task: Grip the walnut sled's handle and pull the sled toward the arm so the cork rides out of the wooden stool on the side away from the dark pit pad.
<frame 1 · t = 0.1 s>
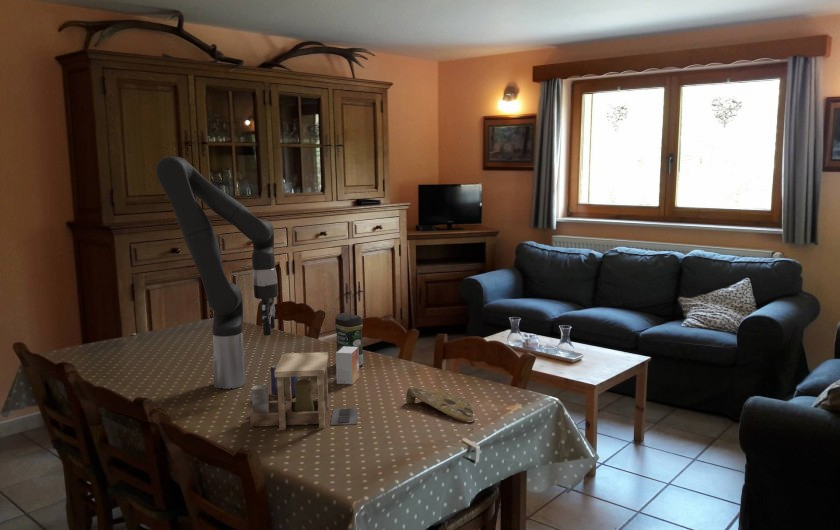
hand: (269, 331, 215), 17 cm above the table, tool pointing down, fingers open, 8 cm apart
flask: (285, 395, 206), on the table
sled: (288, 401, 186), point 5 cm above the table, slide at 0.0 cm
small box: (348, 381, 219), on the table
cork: (305, 419, 187), on the table
coffee jar: (349, 365, 236), on the table
wooden stool: (305, 418, 187), on the table
decorative stone: (452, 409, 194), on the table
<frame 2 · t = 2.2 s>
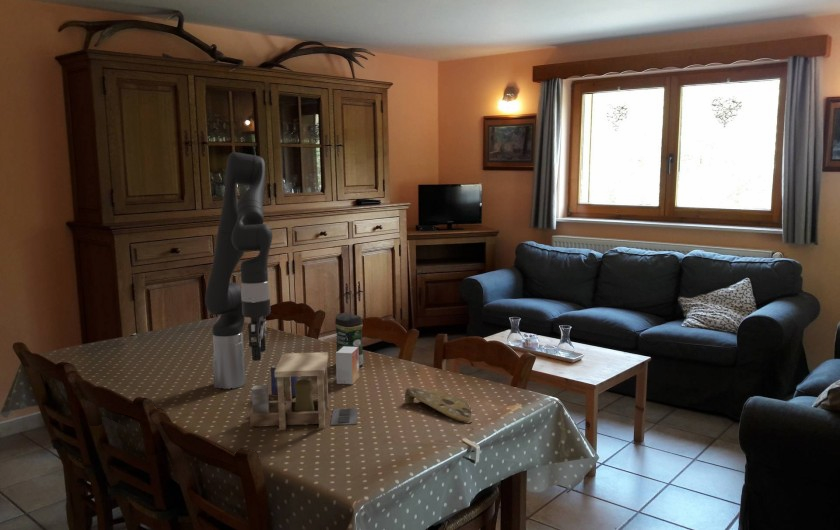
hand: (259, 355, 184), 18 cm above the table, tool pointing down, fingers open, 8 cm apart
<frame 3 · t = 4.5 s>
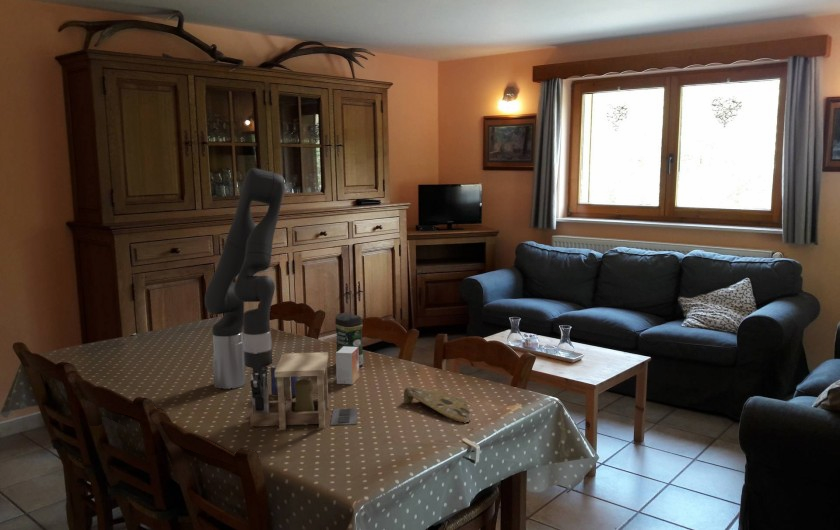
hand: (260, 407, 186), 4 cm above the table, tool pointing down, fingers closed on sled, 3 cm apart
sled: (288, 401, 186), point 5 cm above the table, slide at 0.0 cm, touching gripper
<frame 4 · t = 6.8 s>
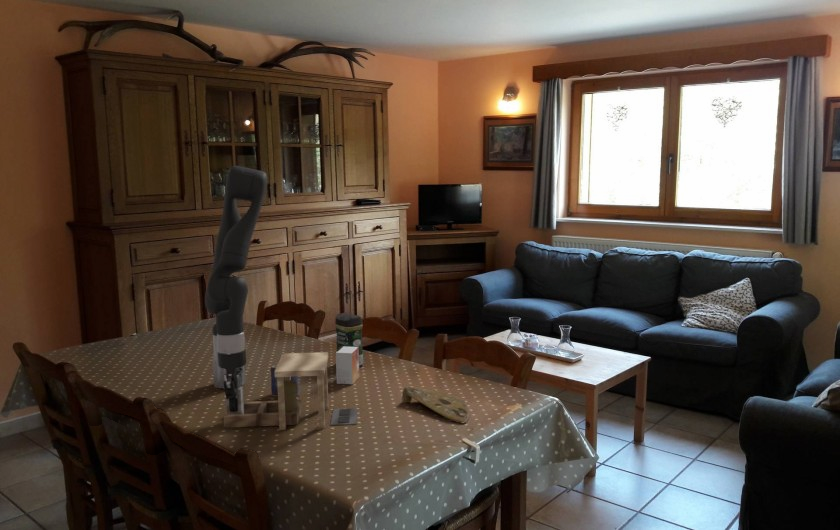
hand: (235, 408, 185), 4 cm above the table, tool pointing down, fingers closed on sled, 3 cm apart
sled: (263, 402, 186), point 5 cm above the table, slide at 7.0 cm, touching gripper, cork
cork: (289, 420, 186), on the table, touching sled
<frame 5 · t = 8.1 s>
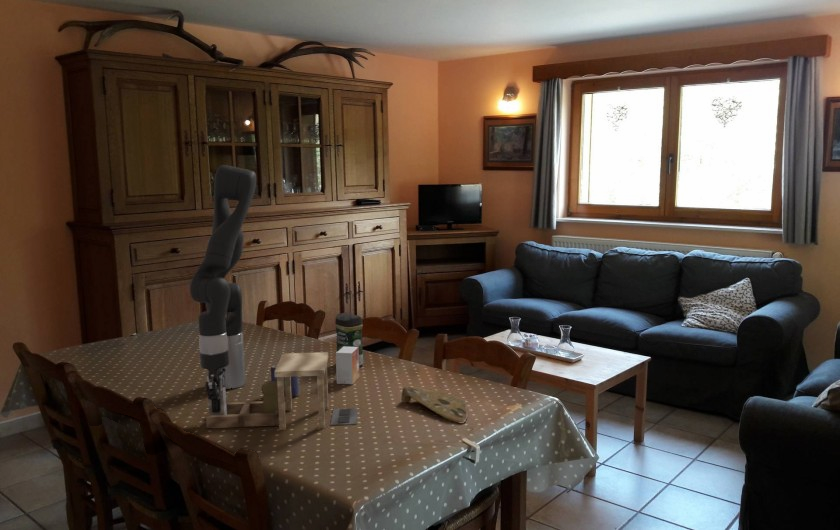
hand: (218, 409, 185), 4 cm above the table, tool pointing down, fingers closed on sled, 3 cm apart
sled: (246, 403, 185), point 5 cm above the table, slide at 11.7 cm, touching gripper, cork
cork: (272, 420, 186), on the table, touching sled
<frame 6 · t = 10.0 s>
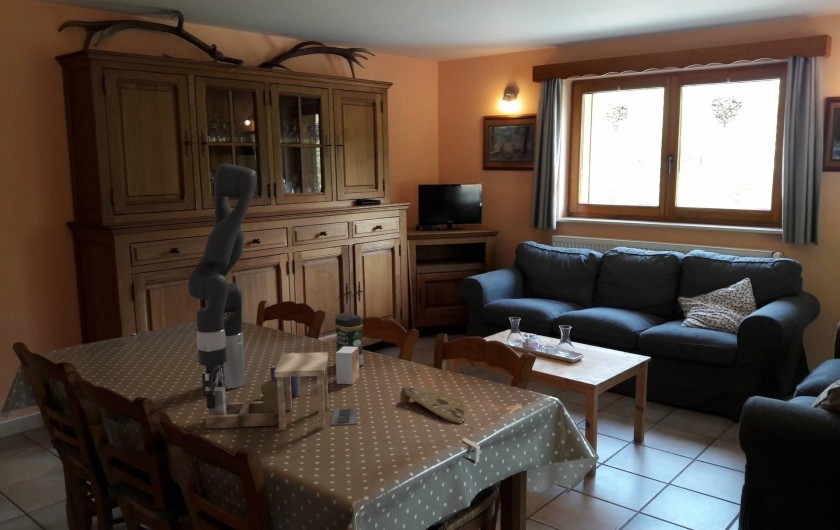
hand: (215, 402, 185), 6 cm above the table, tool pointing down, fingers open, 8 cm apart
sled: (245, 403, 185), point 5 cm above the table, slide at 11.9 cm
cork: (272, 420, 186), on the table
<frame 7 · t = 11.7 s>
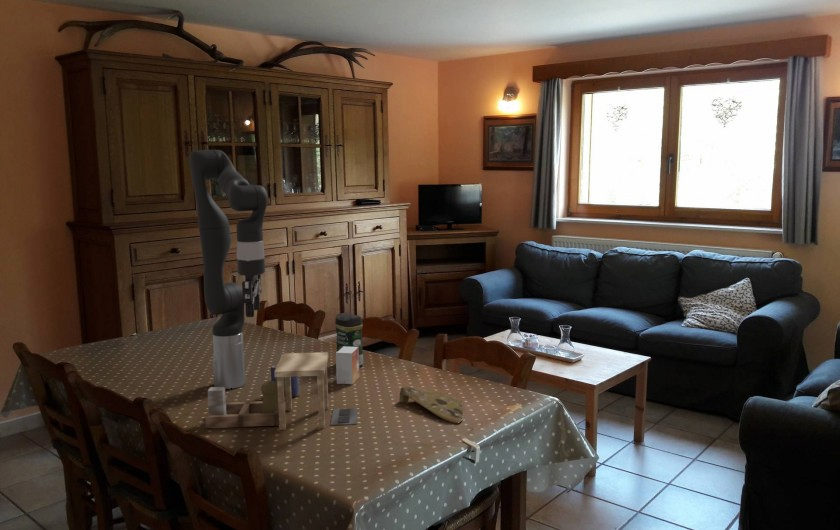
hand: (253, 313, 190), 29 cm above the table, tool pointing down, fingers open, 8 cm apart
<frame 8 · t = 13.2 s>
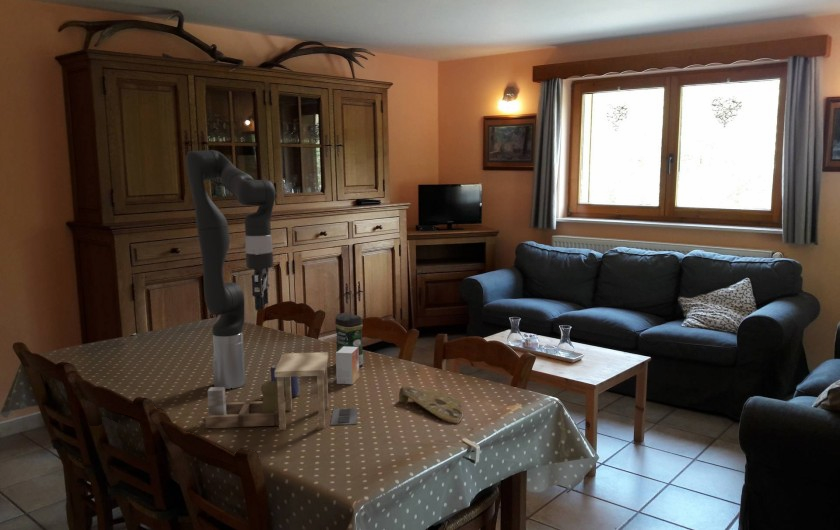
hand: (262, 306, 192), 30 cm above the table, tool pointing down, fingers open, 8 cm apart
at the end: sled slide at 11.9 cm; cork inside the target area (4.0 cm from its centre), on the table; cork tilted 0° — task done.
